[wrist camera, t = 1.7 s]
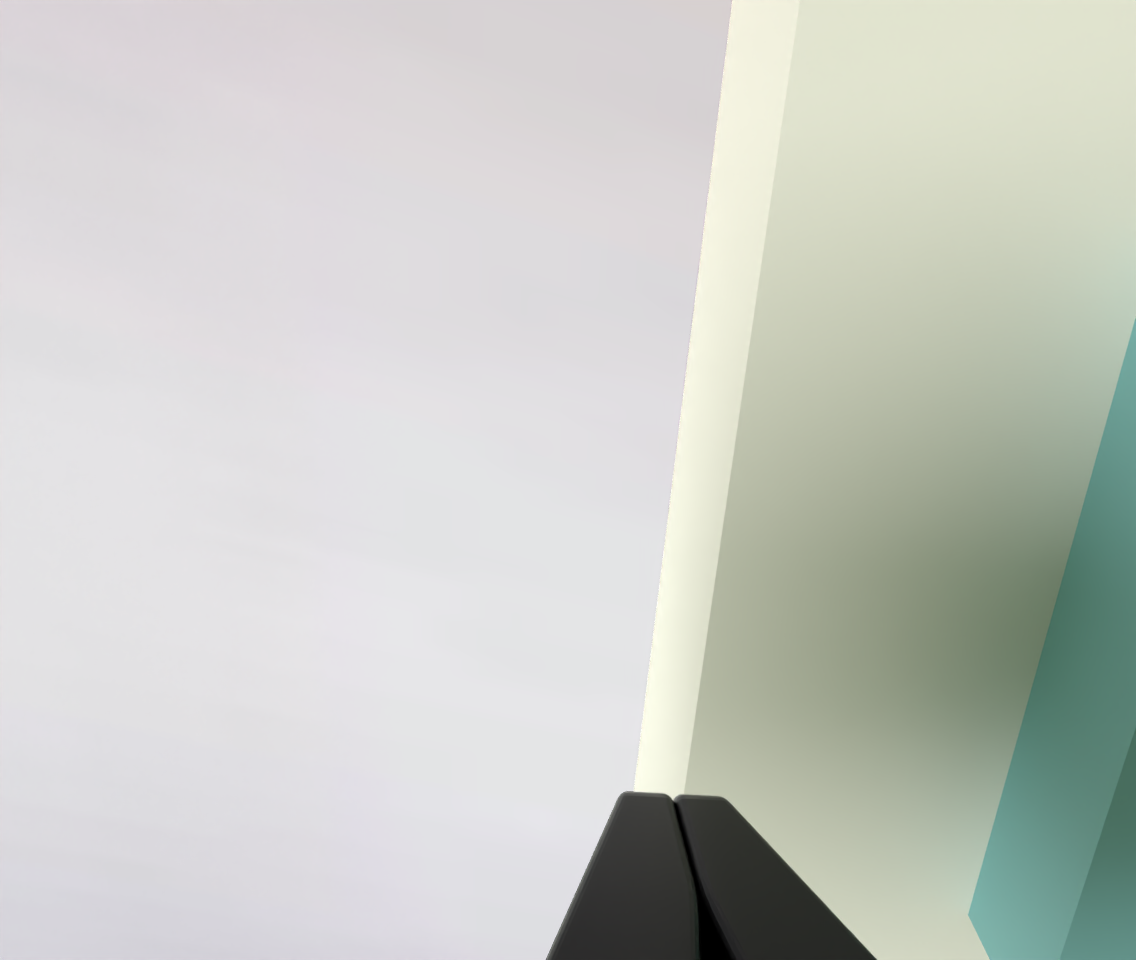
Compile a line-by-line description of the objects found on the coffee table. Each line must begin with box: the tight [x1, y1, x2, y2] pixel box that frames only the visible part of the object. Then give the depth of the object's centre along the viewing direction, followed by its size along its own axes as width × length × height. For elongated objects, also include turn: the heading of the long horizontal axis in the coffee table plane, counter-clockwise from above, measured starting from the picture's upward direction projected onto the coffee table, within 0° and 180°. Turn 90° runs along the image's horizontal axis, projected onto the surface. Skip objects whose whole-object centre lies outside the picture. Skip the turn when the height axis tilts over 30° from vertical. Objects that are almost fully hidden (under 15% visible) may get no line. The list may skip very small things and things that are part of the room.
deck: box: [634, 0, 1136, 960], centre depth 14 cm, size 20×12×4 cm, turn 175°
